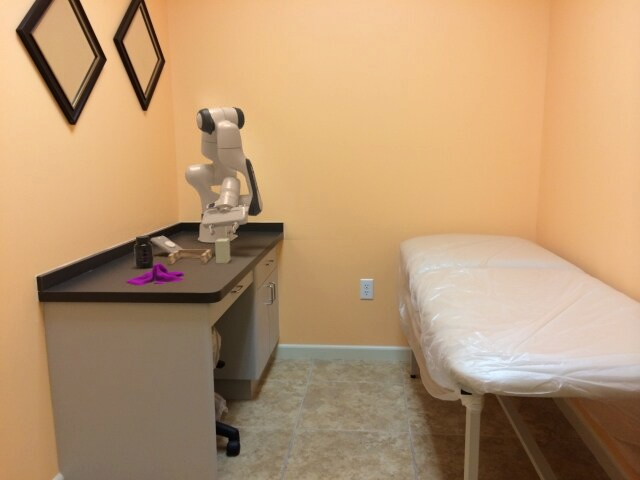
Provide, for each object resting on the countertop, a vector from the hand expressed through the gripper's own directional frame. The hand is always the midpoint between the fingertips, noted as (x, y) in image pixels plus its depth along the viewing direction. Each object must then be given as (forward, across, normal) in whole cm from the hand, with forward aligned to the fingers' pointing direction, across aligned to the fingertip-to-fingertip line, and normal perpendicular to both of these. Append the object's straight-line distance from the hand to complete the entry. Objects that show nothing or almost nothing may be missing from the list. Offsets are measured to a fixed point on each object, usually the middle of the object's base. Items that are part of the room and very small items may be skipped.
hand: (222, 233), depth 210 cm
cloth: (+34, +8, +22) cm, 41 cm away
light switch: (+4, +27, -6) cm, 28 cm away
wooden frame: (+12, +12, 0) cm, 17 cm away
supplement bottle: (+20, +25, +11) cm, 34 cm away
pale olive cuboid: (+13, -2, -2) cm, 13 cm away
